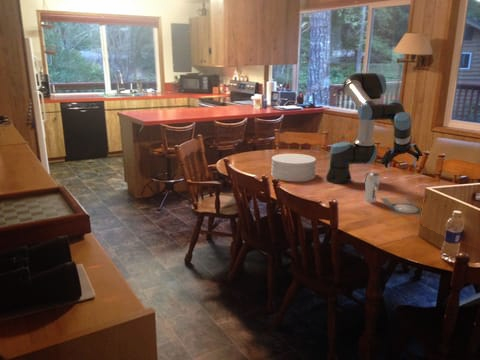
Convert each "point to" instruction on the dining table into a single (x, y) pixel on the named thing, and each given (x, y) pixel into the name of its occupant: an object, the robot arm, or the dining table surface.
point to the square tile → (397, 201)
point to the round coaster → (405, 208)
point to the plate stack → (293, 167)
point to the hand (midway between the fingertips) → (401, 167)
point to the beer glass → (371, 187)
